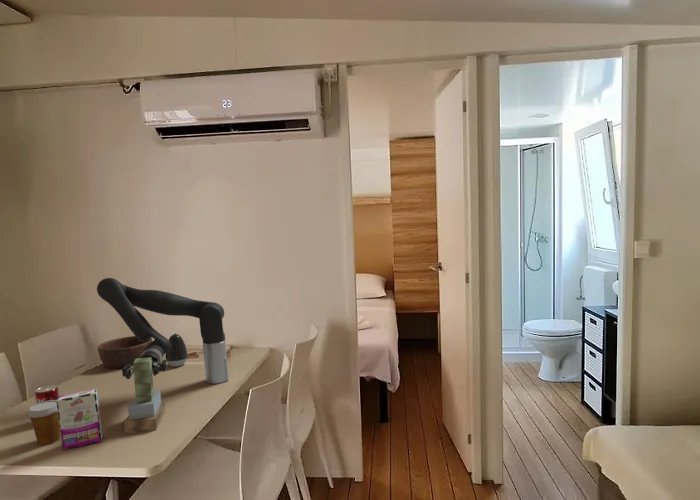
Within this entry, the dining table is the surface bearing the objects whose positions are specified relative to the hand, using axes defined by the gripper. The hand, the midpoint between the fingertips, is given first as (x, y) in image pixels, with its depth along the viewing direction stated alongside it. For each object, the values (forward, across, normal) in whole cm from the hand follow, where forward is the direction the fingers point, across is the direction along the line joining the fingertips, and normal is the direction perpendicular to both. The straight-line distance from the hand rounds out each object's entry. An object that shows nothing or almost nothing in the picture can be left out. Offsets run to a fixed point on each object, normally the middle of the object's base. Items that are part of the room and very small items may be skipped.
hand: (141, 374), depth 164 cm
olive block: (-2, 0, +10) cm, 10 cm away
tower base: (-3, 0, +19) cm, 19 cm away
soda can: (-17, -36, +18) cm, 44 cm away
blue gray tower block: (-3, 0, +14) cm, 14 cm away
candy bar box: (+7, -18, +18) cm, 26 cm away
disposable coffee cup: (+1, -30, +18) cm, 35 cm away
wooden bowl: (-83, -24, +18) cm, 89 cm away
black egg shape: (-67, +2, +18) cm, 70 cm away
